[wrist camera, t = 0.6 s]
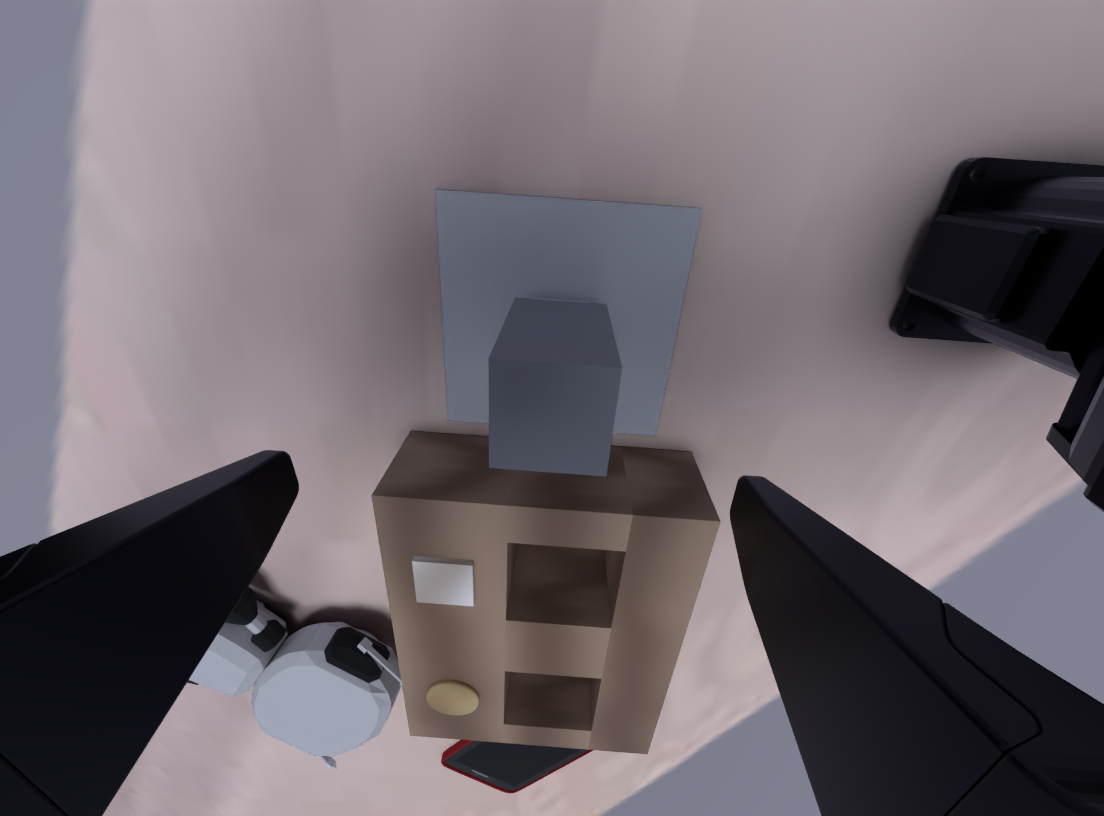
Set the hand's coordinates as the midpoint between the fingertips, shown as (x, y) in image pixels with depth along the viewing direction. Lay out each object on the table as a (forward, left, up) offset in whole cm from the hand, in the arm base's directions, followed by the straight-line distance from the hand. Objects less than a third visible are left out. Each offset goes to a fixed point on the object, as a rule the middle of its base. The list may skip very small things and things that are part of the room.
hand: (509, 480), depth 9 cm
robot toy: (+15, +24, -12) cm, 31 cm away
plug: (-1, +1, -11) cm, 11 cm away
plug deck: (-1, +1, -12) cm, 12 cm away
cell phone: (-1, +35, -12) cm, 37 cm away
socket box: (-1, +16, -12) cm, 20 cm away
